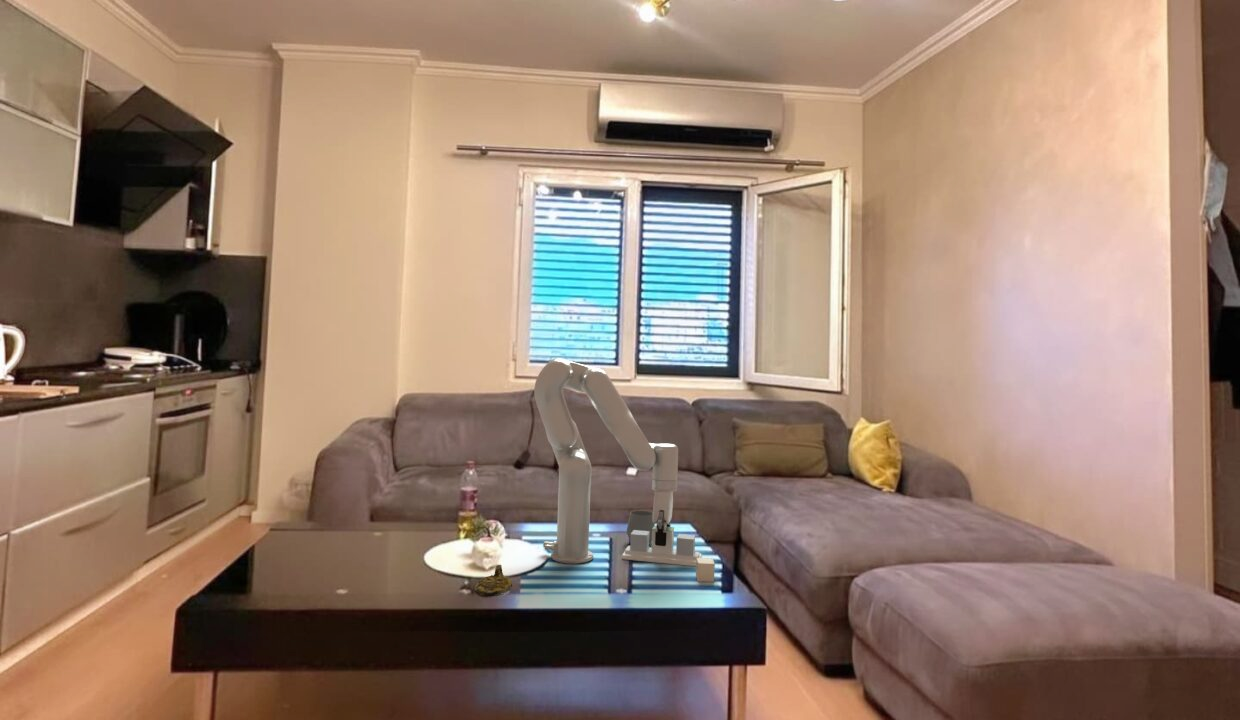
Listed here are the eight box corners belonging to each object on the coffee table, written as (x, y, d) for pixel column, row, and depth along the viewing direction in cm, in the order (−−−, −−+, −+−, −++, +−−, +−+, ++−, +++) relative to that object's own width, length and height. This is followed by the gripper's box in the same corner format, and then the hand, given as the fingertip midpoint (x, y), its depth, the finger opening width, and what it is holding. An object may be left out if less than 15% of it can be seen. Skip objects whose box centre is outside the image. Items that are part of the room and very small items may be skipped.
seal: (506, 603, 168) (515, 582, 182) (508, 584, 167) (517, 565, 182) (468, 597, 168) (481, 577, 182) (471, 578, 167) (483, 559, 182)
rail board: (622, 559, 203) (622, 535, 203) (627, 550, 212) (628, 527, 211) (698, 566, 198) (699, 541, 198) (701, 557, 207) (702, 534, 207)
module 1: (651, 552, 203) (652, 528, 203) (653, 548, 208) (654, 525, 208) (671, 554, 202) (672, 530, 202) (673, 550, 206) (674, 527, 206)
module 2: (697, 581, 185) (698, 563, 185) (695, 575, 190) (696, 557, 190) (714, 582, 185) (714, 563, 185) (711, 576, 190) (712, 558, 190)
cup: (655, 548, 215) (656, 517, 215) (626, 547, 216) (627, 515, 216) (654, 540, 225) (655, 510, 225) (626, 539, 225) (627, 509, 225)
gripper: (656, 479, 214) (654, 533, 214) (647, 489, 197) (645, 547, 197) (680, 480, 212) (678, 535, 213) (673, 491, 196) (671, 550, 196)
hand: (662, 541), depth 205 cm, fingers open, 9 cm apart
